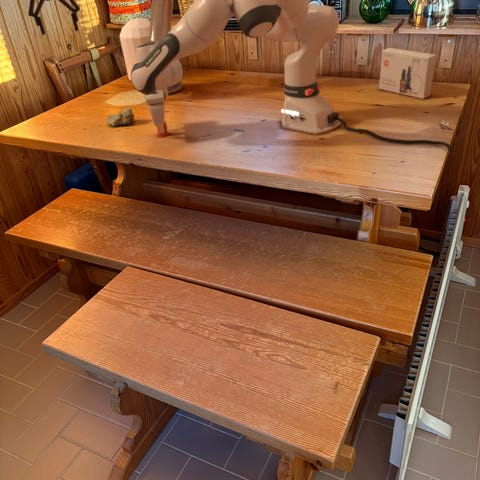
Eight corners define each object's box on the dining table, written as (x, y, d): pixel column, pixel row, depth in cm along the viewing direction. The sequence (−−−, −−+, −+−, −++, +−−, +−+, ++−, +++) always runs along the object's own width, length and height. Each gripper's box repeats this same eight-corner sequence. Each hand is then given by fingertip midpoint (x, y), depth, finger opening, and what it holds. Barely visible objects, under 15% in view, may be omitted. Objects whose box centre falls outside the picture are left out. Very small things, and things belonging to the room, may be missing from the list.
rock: (108, 124, 190) (108, 128, 182) (105, 108, 188) (104, 111, 179) (134, 120, 192) (135, 124, 184) (131, 104, 190) (132, 107, 181)
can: (159, 133, 175) (157, 121, 172) (169, 132, 174) (166, 120, 171) (157, 136, 172) (155, 124, 169) (166, 136, 171) (164, 124, 169)
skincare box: (377, 89, 194) (381, 50, 185) (385, 86, 197) (389, 47, 188) (423, 99, 180) (429, 56, 171) (430, 95, 183) (437, 53, 174)
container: (160, 81, 233) (149, 21, 217) (121, 82, 238) (108, 23, 222) (174, 69, 249) (165, 13, 233) (138, 70, 254) (126, 15, 238)
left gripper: (8, -23, 175) (27, 37, 187) (74, -30, 176) (89, 30, 188) (13, -24, 181) (32, 34, 193) (77, -31, 182) (92, 27, 194)
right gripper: (147, 84, 172) (154, 120, 180) (145, 101, 155) (153, 140, 163) (164, 82, 172) (170, 118, 180) (163, 99, 156) (170, 137, 163)
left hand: (60, 32), depth 191 cm, fingers open, 13 cm apart
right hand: (162, 128), depth 172 cm, fingers open, 6 cm apart
